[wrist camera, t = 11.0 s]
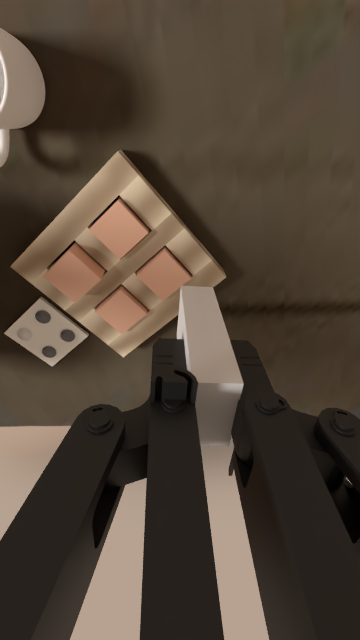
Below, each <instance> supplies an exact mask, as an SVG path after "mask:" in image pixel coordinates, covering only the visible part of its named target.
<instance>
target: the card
mask: <svg viewBox="0 0 360 640" xmlns="http://www.w3.org/2000/svg"><path fill="white" fill-rule="evenodd" d="M4 334H6V335H7V336H8V337H10V338H11V339H13V340H14V341H16V342H17V343H19V344H20V345H21V346H23V347H24V348H26V349H27V350H29V351H30V352H32V353H33V354H34V355H36V356H37V357H39V358H40V359H42V360H43V361H44V362H46V363H47V364H49V365H50V366H54V365H55V364H56V363H57V362H58V361H59V360H61V359H62V358H63V357H64V356H65V355H67V354H68V353H69V352H70V351H71V350H72V349H74V348H75V347H76V346H77V345H78V344H79V343H81V342H82V341H83V340H84V339H85V338H87V337H88V335H89V334H88V333H87V332H86V331H85V330H83V329H82V328H81V327H80V326H78V325H77V324H76V323H75V322H73V321H72V320H71V319H70V318H68V317H67V316H66V315H64V314H63V313H62V312H61V311H59V310H58V309H57V308H56V307H54V306H53V305H52V304H51V303H49V302H48V301H47V300H46V299H44V298H43V297H42V296H41V297H40V298H39V299H38V300H37V301H36V302H35V303H34V304H33V305H32V306H31V307H30V308H29V309H28V310H27V311H26V312H25V313H24V314H23V315H22V316H21V317H20V318H19V319H18V320H17V321H16V322H15V323H13V324H12V325H11V326H10V327H9V328H8V329H7V330H6V331H5V333H4Z"/></svg>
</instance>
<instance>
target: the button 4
mask: <svg viewBox="0 0 360 640" xmlns="http://www.w3.org/2000/svg"><path fill="white" fill-rule="evenodd" d="M137 277H138V278H139V279H140V280H141V281H142V282H143V283H144V284H145V285H147V286H148V287H149V288H150V289H151V290H152V291H153V292H154V293H155V294H156V295H157V296H158V297H159V298H160V299H161V300H162V301H164V300H165V299H166V298H167V297H169V296H170V295H171V294H172V293H174V292H175V291H176V290H177V289H178V288H180V287H181V286H182V285H183V284H185V283H186V282H187V281H188V280H190V279H191V277H190V272H189V270H188V269H187V268H186V267H185V266H184V265H183V264H182V263H181V262H180V261H179V259H178V258H177V257H176V256H175V255H174V254H173V253H172V252H171V251H170V250H169V249H168V247H167V246H166V245H165V246H164V247H163V248H161V249H160V250H159V251H158V252H157V253H156V254H155V255H153V256H152V257H151V258H150V259H149V260H148V261H147V262H146V263H144V264H143V265H142V266H141V267H140V268H139V269H138V271H137Z"/></svg>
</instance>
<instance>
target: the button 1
mask: <svg viewBox="0 0 360 640" xmlns="http://www.w3.org/2000/svg"><path fill="white" fill-rule="evenodd" d="M105 270H106V269H105V268H104V267H103V266H102V265H101V264H100V263H98V262H97V261H96V260H95V259H94V258H93V257H92V256H91V255H90V254H89V253H88V252H87V251H86V250H84V249H83V248H82V247H81V246H80V245H79V244H78V243H77V242H75V243H74V244H73V245H72V246H71V247H70V248H69V249H68V250H67V251H66V252H65V253H64V254H63V255H62V256H61V257H60V258H59V259H58V260H57V261H56V262H55V263H54V264H53V265H52V266H51V267H50V269H49V270H48V271H47V272H46V274H45V275H44V276H43V277H44V278H45V279H46V280H47V281H48V282H50V283H51V284H52V285H53V286H55V287H56V288H57V289H58V290H59V291H61V292H62V293H63V294H64V295H65V296H67V297H68V298H69V299H70V300H71V301H73V302H74V303H76V302H77V301H78V300H79V299H81V298H82V297H83V296H84V295H85V294H86V293H87V292H88V291H89V290H90V289H92V288H93V287H94V286H95V285H96V284H97V283H98V282H99V281H100V280H101V279H102V277H103V274H104V272H105Z"/></svg>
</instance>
